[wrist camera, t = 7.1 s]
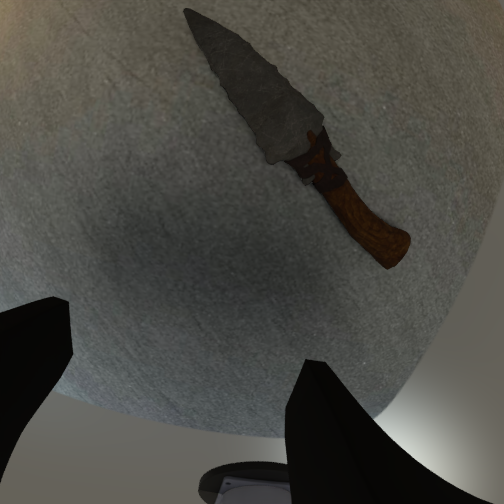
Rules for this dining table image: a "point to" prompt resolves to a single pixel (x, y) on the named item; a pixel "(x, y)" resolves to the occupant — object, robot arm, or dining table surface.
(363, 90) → the dining table surface
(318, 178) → the knife
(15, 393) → the robot arm
